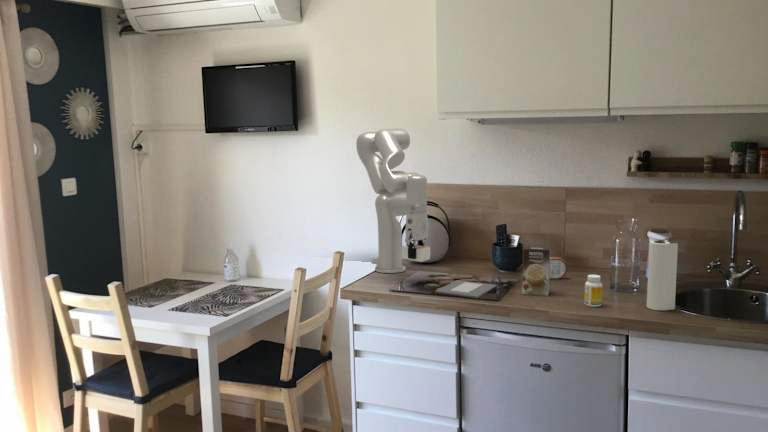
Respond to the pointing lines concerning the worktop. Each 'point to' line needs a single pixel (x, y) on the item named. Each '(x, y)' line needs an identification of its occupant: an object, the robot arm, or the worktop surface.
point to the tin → (557, 268)
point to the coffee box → (536, 270)
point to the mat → (466, 288)
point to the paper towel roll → (662, 275)
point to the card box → (417, 253)
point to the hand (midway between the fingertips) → (416, 256)
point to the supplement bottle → (593, 291)
